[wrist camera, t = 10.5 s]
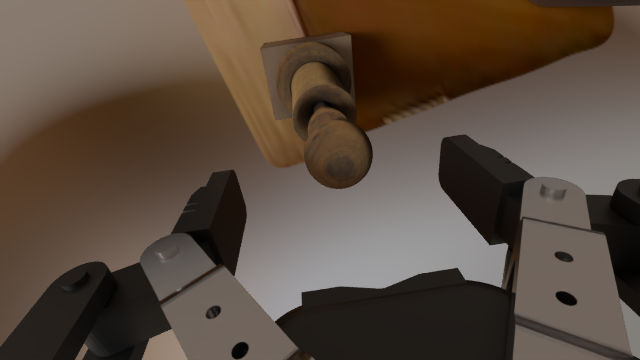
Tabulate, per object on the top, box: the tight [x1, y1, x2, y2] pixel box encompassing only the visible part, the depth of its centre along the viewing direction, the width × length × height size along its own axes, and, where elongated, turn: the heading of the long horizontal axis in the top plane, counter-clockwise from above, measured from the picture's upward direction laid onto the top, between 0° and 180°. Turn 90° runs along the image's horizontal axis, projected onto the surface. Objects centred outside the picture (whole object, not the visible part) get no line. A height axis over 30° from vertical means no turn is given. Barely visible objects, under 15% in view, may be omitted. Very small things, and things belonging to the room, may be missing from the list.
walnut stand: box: [260, 32, 356, 120], centre depth 30 cm, size 8×6×5 cm
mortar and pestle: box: [276, 42, 373, 189], centre depth 20 cm, size 7×6×18 cm
